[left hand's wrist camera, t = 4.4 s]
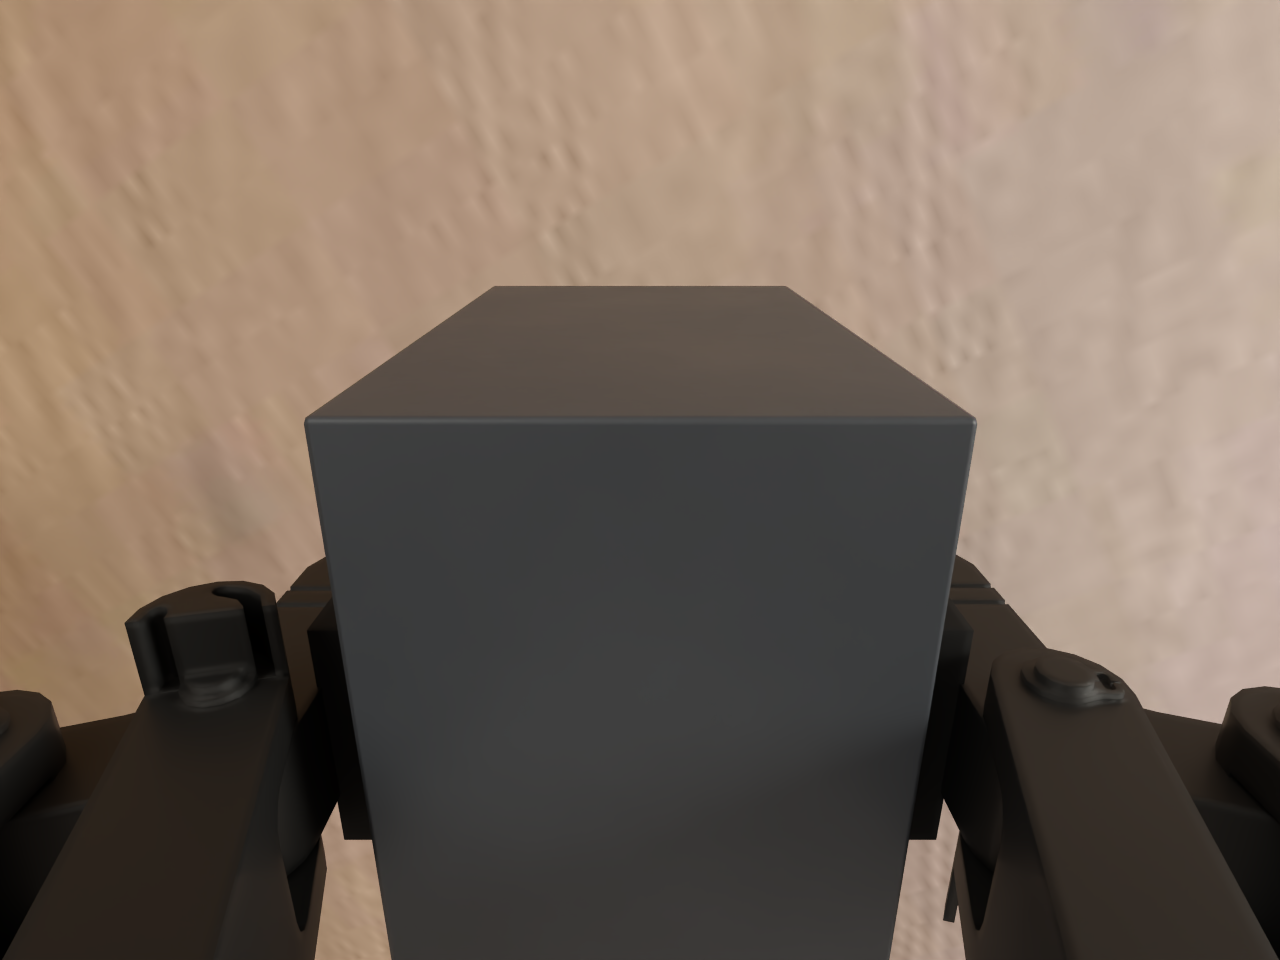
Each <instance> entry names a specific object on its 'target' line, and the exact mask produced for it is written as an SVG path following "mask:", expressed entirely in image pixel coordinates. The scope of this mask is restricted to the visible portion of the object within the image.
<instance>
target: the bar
mask: <svg viewBox="0 0 1280 960" xmlns="http://www.w3.org/2000/svg"><path fill="white" fill-rule="evenodd" d="M304 427H305V433H306V439H307V445H308V451H309V457H310V464H311V470H312V476H313V482H314V488H315V494H316V500H317V506H318V512H319V519H320V525H321V531H322V537H323V543H324V549H325V555H326V561H327V567H328V574H329V580H330V586H331V592H332V598H333V604H334V610H335V616H336V622H337V629H338V635H339V641H340V647H341V653H342V659H343V665H344V671H345V678H346V684H347V690H348V696H349V702H350V708H351V714H352V720H353V726H354V733H355V739H356V745H357V751H358V757H359V763H360V769H361V775H362V781H363V788H364V794H365V800H366V806H367V812H368V818H369V824H370V830H371V836H372V843H373V849H374V855H375V861H376V867H377V873H378V879H379V885H380V891H381V898H382V904H383V910H384V916H385V922H386V928H387V934H388V940H389V946H390V953H391V959H392V960H889V957H890V951H891V945H892V939H893V933H894V927H895V921H896V915H897V909H898V903H899V896H900V890H901V884H902V878H903V872H904V866H905V860H906V854H907V848H908V842H909V836H910V829H911V823H912V817H913V811H914V805H915V799H916V793H917V787H918V781H919V775H920V769H921V763H922V756H923V750H924V744H925V738H926V732H927V726H928V720H929V714H930V708H931V702H932V696H933V689H934V683H935V677H936V671H937V665H938V659H939V653H940V647H941V641H942V635H943V629H944V622H945V616H946V610H947V604H948V598H949V592H950V586H951V580H952V574H953V568H954V562H955V556H956V549H957V543H958V537H959V531H960V525H961V519H962V513H963V507H964V501H965V495H966V489H967V482H968V476H969V470H970V464H971V458H972V452H973V446H974V440H975V434H976V428H977V421H976V418H975V417H974V416H972V415H971V414H969V413H968V412H966V411H965V410H964V409H962V408H961V407H959V406H958V405H956V404H955V403H953V402H952V401H951V400H949V399H948V398H946V397H945V396H943V395H942V394H941V393H939V392H938V391H936V390H935V389H933V388H932V387H930V386H929V385H928V384H926V383H925V382H923V381H922V380H920V379H919V378H918V377H916V376H915V375H913V374H912V373H910V372H909V371H907V370H906V369H905V368H903V367H902V366H900V365H899V364H897V363H896V362H895V361H893V360H892V359H890V358H889V357H887V356H886V355H884V354H883V353H882V352H880V351H879V350H877V349H876V348H874V347H873V346H872V345H870V344H869V343H867V342H866V341H864V340H863V339H861V338H860V337H859V336H857V335H856V334H854V333H853V332H851V331H850V330H849V329H847V328H846V327H844V326H843V325H841V324H840V323H838V322H837V321H836V320H834V319H833V318H831V317H830V316H828V315H827V314H826V313H824V312H823V311H821V310H820V309H818V308H817V307H815V306H814V305H813V304H811V303H810V302H808V301H807V300H805V299H804V298H803V297H801V296H800V295H798V294H797V293H795V292H794V291H792V290H791V289H790V288H788V287H786V286H494V287H492V288H491V289H490V290H488V291H487V292H485V293H484V294H482V295H481V296H479V297H478V298H477V299H475V300H474V301H472V302H471V303H469V304H468V305H467V306H465V307H464V308H462V309H461V310H459V311H458V312H457V313H455V314H454V315H452V316H451V317H449V318H448V319H447V320H445V321H444V322H442V323H441V324H439V325H438V326H436V327H435V328H434V329H432V330H431V331H429V332H428V333H426V334H425V335H424V336H422V337H421V338H419V339H418V340H416V341H415V342H414V343H412V344H411V345H409V346H408V347H406V348H405V349H404V350H402V351H401V352H399V353H398V354H396V355H395V356H393V357H392V358H391V359H389V360H388V361H386V362H385V363H383V364H382V365H381V366H379V367H378V368H376V369H375V370H373V371H372V372H371V373H369V374H368V375H366V376H365V377H363V378H362V379H360V380H359V381H358V382H356V383H355V384H353V385H352V386H350V387H349V388H348V389H346V390H345V391H343V392H342V393H340V394H339V395H338V396H336V397H335V398H333V399H332V400H330V401H329V402H328V403H326V404H325V405H323V406H322V407H320V408H319V409H317V410H316V411H315V412H313V413H312V414H310V415H309V416H307V417H306V418H305V422H304Z"/></svg>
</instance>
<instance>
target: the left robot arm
mask: <svg viewBox="0 0 1280 960" xmlns="http://www.w3.org/2000/svg"><path fill="white" fill-rule="evenodd" d="M990 585H991V584H990V583H989V582H988V581H987V579H986V578H985V577H984V576H983V575H982V574H981V573H980V571H979V570H978V569H977V568H976V567H975V566H974V565H973V564H971V563H970V562H968V561H966V560H965V559H963V558H961V557H959V556H958V555H956V556H955V562H954V568H953V574H952V580H951V586H950V592H949V598H948V604H947V610H946V616H945V622H944V629H943V635H942V641H941V647H940V653H939V659H938V665H937V671H936V677H935V683H934V689H933V696H932V702H931V708H930V714H929V720H928V726H927V732H926V738H925V744H924V750H923V756H922V763H921V769H920V775H919V781H918V787H917V793H916V799H915V805H914V811H913V817H912V823H911V829H910V836H909V840H936V838H937V832H938V827H939V821H940V816H941V810H942V804H943V799H944V800H945V802H946V804H947V806H948V808H949V810H950V812H951V814H952V816H953V818H954V820H955V822H956V824H957V826H958V828H959V830H960V831H959V836H958V841H957V847H956V852H955V857H954V862H953V867H952V872H951V877H950V883H949V888H948V893H947V898H946V903H945V910H944V918H943V920H944V921H949V922H953V923H954V920H955V915H956V910H957V906H959V913H960V920H961V928H962V935H963V942H964V949H965V957H966V960H1280V688H1275V687H1266V686H1264V687H1256V688H1248V689H1242V690H1241V691H1239V692H1238V693H1237V694H1235V695H1234V696H1233V697H1231V699H1230V702H1229V705H1228V708H1227V711H1226V714H1225V717H1224V720H1223V723H1222V724H1217V723H1212V722H1207V721H1202V720H1196V719H1191V718H1186V717H1181V716H1175V715H1170V714H1165V713H1160V712H1155V711H1151V710H1147V709H1143V708H1142V706H1141V704H1140V702H1139V700H1138V698H1137V696H1136V695H1135V694H1134V692H1133V691H1132V690H1131V689H1130V688H1129V687H1128V685H1127V684H1126V683H1125V682H1124V681H1123V680H1122V679H1121V678H1120V677H1118V676H1116V675H1115V674H1113V673H1112V672H1110V671H1109V670H1107V669H1106V668H1104V667H1103V666H1101V665H1099V664H1097V663H1094V662H1092V661H1089V660H1087V659H1084V658H1082V657H1079V656H1077V655H1074V654H1070V653H1066V652H1061V651H1057V650H1052V649H1048V648H1046V647H1045V646H1044V644H1043V643H1042V642H1041V641H1040V640H1039V639H1038V638H1037V637H1036V635H1035V634H1034V633H1033V632H1032V631H1031V630H1030V629H1029V627H1028V626H1027V625H1026V624H1025V623H1024V622H1023V621H1022V619H1021V618H1020V617H1019V616H1018V615H1017V614H1016V613H1015V611H1014V610H1013V609H1012V608H1011V607H1010V606H1009V605H1008V604H1005V600H1004V599H1003V598H1002V597H1001V595H1000V594H999V593H998V592H997V591H996V590H995V589H994V588H991V586H990ZM125 627H126V630H127V634H128V637H129V641H130V645H131V648H132V652H133V655H134V659H135V663H136V666H137V670H138V673H139V677H140V681H141V684H142V688H143V691H144V695H145V696H144V698H143V700H142V702H141V703H140V705H139V707H138V709H137V711H136V713H132V714H128V715H124V716H119V717H113V718H108V719H103V720H98V721H93V722H87V723H82V724H77V725H72V726H66V727H61V728H60V727H59V724H58V721H57V718H56V715H55V712H54V709H53V706H52V703H51V701H50V700H48V699H47V698H46V697H44V696H43V695H42V694H40V693H37V692H29V691H21V690H13V691H4V692H0V960H314V959H315V951H316V944H317V937H318V929H319V922H320V915H321V908H322V900H323V893H324V886H325V878H326V871H327V866H326V859H325V852H324V847H323V841H322V836H321V834H322V832H323V830H324V828H325V825H326V823H327V821H328V819H329V817H330V815H331V813H332V811H333V809H334V807H335V805H336V803H337V801H338V807H339V812H340V818H341V824H342V829H343V835H344V840H372V836H371V830H370V824H369V818H368V812H367V806H366V800H365V794H364V788H363V781H362V775H361V769H360V763H359V757H358V751H357V745H356V739H355V733H354V726H353V720H352V714H351V708H350V702H349V696H348V690H347V684H346V678H345V671H344V665H343V659H342V653H341V647H340V641H339V635H338V629H337V622H336V616H335V610H334V604H333V598H332V592H331V586H330V580H329V574H328V567H327V561H326V557H324V558H323V559H321V560H319V561H318V562H316V563H314V564H312V565H311V566H309V567H307V568H306V570H305V571H304V572H303V573H302V574H301V575H300V576H299V578H298V579H297V580H296V581H295V582H294V583H293V585H292V586H291V590H290V591H286V593H285V594H284V595H283V596H282V597H281V598H280V600H279V601H278V602H277V603H276V599H275V594H274V592H272V591H271V590H269V589H268V588H267V587H265V586H264V585H261V584H256V583H251V582H246V581H225V582H214V583H208V584H203V585H198V586H193V587H188V588H186V589H183V590H180V591H177V592H174V593H171V594H168V595H165V596H162V597H160V598H159V599H157V600H155V601H153V602H151V603H149V604H147V605H146V606H144V607H142V608H140V609H139V610H138V611H137V612H136V613H134V614H133V615H132V616H131V617H130V618H129V619H128V620H127V621H126V622H125Z"/></svg>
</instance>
